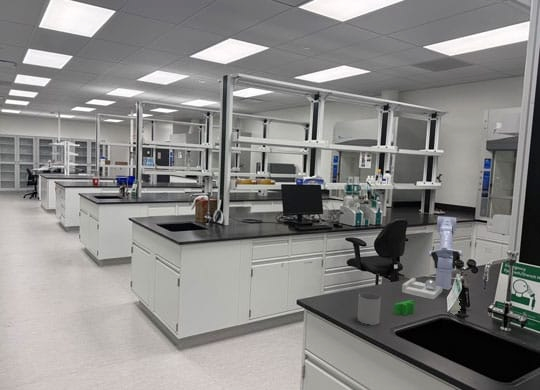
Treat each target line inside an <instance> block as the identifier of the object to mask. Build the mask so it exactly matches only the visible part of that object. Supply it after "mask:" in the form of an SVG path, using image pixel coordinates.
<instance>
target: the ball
mask: <svg viewBox="0 0 540 390" xmlns="http://www.w3.org/2000/svg"><path fill="white" fill-rule="evenodd" d="M424 283H425V285H426V287H427V289H429V290H433V289H435V288H436V282H435V280H434V279H427V280H426V281H425V282H424Z"/></svg>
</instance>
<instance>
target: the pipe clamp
mask: <svg viewBox="0 0 540 390" xmlns="http://www.w3.org/2000/svg"><path fill="white" fill-rule="evenodd" d="M400 314H401V315H403V316H408V314H412V315H413V314H415V302H414V300H413V299H409V300H405V301H402V302H401V301H400V302H396V303H394V306H393V315H400Z"/></svg>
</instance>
